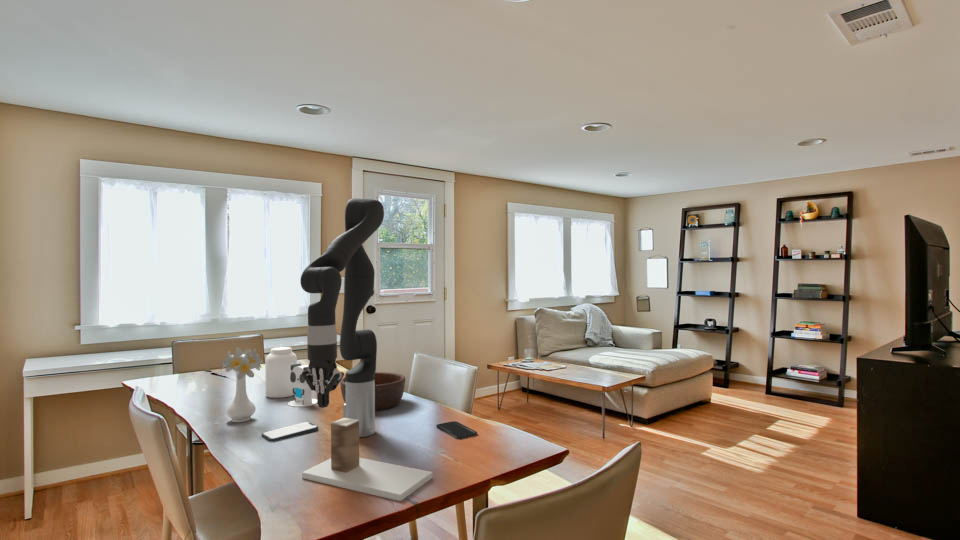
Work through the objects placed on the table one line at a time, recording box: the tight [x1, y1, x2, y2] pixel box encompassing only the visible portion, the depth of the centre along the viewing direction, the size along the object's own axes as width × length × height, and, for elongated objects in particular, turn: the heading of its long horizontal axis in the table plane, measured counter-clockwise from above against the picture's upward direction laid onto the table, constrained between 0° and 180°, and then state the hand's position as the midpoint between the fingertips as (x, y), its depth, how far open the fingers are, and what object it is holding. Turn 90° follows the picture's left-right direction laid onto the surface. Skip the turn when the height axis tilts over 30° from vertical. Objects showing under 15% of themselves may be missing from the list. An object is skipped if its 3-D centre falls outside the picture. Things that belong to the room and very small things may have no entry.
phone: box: [435, 420, 478, 440], centre depth 163 cm, size 8×1×15 cm
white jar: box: [264, 346, 298, 399], centre depth 212 cm, size 12×12×20 cm
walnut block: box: [330, 417, 360, 473], centre depth 130 cm, size 5×5×12 cm
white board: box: [301, 457, 433, 502], centre depth 127 cm, size 30×14×2 cm, turn 64°
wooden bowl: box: [339, 371, 406, 411], centre depth 196 cm, size 25×25×10 cm
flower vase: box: [220, 347, 264, 423], centre depth 176 cm, size 13×18×25 cm
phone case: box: [261, 421, 319, 443], centre depth 162 cm, size 9×2×16 cm
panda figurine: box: [287, 363, 318, 408], centre depth 199 cm, size 12×11×15 cm
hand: (323, 406), depth 133 cm, fingers closed
